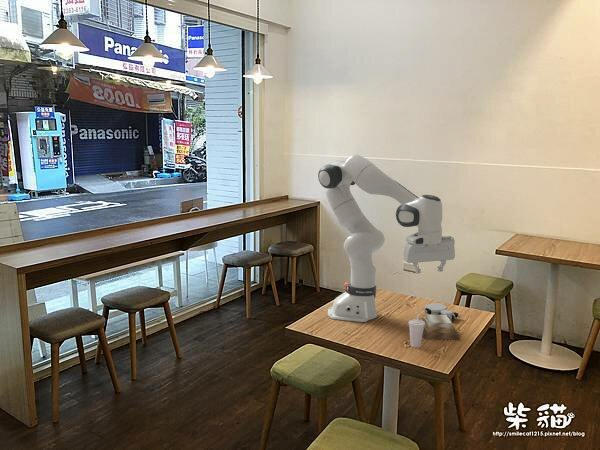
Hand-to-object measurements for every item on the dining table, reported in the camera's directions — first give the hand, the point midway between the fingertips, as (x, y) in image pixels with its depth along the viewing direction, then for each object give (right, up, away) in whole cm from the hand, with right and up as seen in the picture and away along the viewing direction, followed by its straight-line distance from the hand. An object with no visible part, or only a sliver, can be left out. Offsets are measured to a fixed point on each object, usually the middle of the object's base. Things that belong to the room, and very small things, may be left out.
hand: (429, 272), depth 193 cm
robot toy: (+14, -24, +32) cm, 42 cm away
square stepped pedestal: (+7, -27, +14) cm, 31 cm away
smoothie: (-5, -29, +1) cm, 29 cm away
